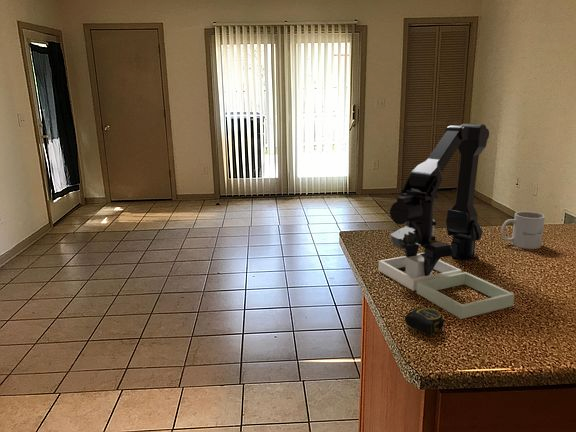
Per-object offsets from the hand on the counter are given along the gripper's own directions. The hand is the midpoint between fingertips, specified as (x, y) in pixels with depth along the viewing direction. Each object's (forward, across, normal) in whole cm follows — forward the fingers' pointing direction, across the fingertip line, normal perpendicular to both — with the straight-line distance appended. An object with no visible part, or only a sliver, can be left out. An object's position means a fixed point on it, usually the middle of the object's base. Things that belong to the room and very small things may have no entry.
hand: (418, 272), depth 131 cm
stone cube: (+1, 0, 0) cm, 1 cm away
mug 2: (+1, -8, +47) cm, 48 cm away
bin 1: (+1, 0, 0) cm, 1 cm away
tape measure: (+1, +26, -18) cm, 31 cm away
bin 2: (+1, +17, 0) cm, 17 cm away
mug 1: (+1, -25, +22) cm, 33 cm away
